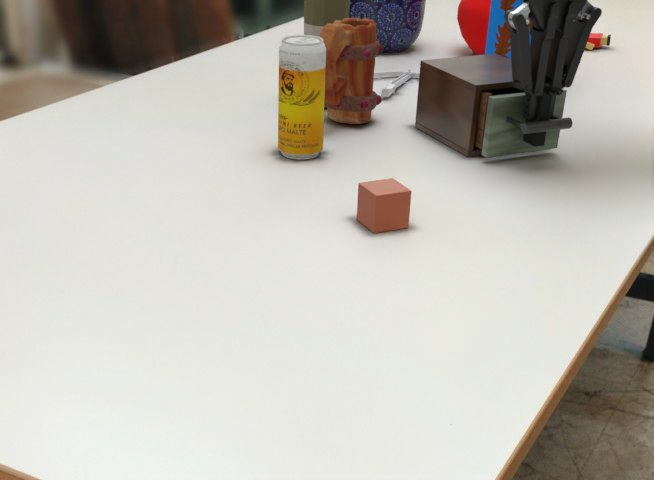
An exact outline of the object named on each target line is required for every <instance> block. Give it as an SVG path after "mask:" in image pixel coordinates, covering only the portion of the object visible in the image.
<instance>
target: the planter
mask: <svg viewBox="0 0 654 480" xmlns="http://www.w3.org/2000/svg"><path fill="white" fill-rule="evenodd" d="M426 4H427V0H350V9H349V18H359V19H360V20H362V19H364V18H366V19H370V20H373V21H375V24H376V41H378V42H379V44H381V45H382V46H383V47H384V50H383V51H382V54H384V53H385V54H387V53H388V54H389V53H398V52H401V51H402V52H403V51H405V50H407V49H408V48H410V47H411V46H412V45H413V44H414V43H415V42H416V40H417V39H418V38H419V36H420V34H421V31H422V28H423V24H424V18H425V13H426V12H425V11H426Z"/></svg>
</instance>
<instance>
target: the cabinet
mask: <svg viewBox="0 0 654 480" xmlns="http://www.w3.org/2000/svg"><path fill="white" fill-rule="evenodd" d="M419 62H420V63H419V78H418V85H417V97H416V98H417V99H416V109H415V122H414V128H416V129H418V130H419V131H421V132H423V133H425V134H426V135H428V136H430V137H432V138H433V139H436V140H437V141H439V142H440V143H442V144H444V145H446V146H448V147H450V148H451V149H452V150H454V151H456V152H458V153H460V154H462V155H464V156H465V157H467V158H469V157H470V158H471V157H478V156H482V155H481V154H482V149H480V148H478V147H476V146H474V139H475V130H476V122H477V114H478V105H479V97H480V91H483V90H493V89H502V88H511V87H514V86H513V78H512V63H511V59H508V58H506V57H503V56H501V55H498V54H496V53H495V54H485V55H476V54H474V55H464V56H455V57H443V58H433V59H432V58H431V59H421V60H420V61H419Z"/></svg>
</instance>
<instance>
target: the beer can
mask: <svg viewBox="0 0 654 480" xmlns="http://www.w3.org/2000/svg"><path fill="white" fill-rule="evenodd" d="M325 70H326V47H325V44H324V42H323V38H321V37H318V36H312V35H304V34H293V35H287V36H284V37H282V38H281V42H280V45H279V46H278V96H277V97H278V98H277V99H278V100H277V101H278V102H277V104H278V105H277V106H278V112H277V114H278V115H277V116H278V117H277V118H278V119H277V149H278V150H279V152H281V155H282V156H283V157H285V158H287V159H289V160H290V159H291V160H298V161H299V160H300V161H302V160H312V159H314V158H317V157H318V156H319V154H320V153H321V152H322V151H323V149H324V128H325V127H324V125H325V123H324V122H325V108H324V99H325Z"/></svg>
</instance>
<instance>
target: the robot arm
mask: <svg viewBox="0 0 654 480" xmlns="http://www.w3.org/2000/svg"><path fill="white" fill-rule="evenodd" d="M602 12H603V11H602V8H600V7H597V6H594V5H593V4H591V3H590V1H588V0H523V4H522V5H521V6H519V7H518V8H517V9H516V10H514V11H510V10H508V11H507V12H506V13H505V15H504V18H505V21H506V23H507V26H508V28H509V31H510V47H511V63H512V78H513V86H514V87H516V88H518V89H520V90H523V91H524V92H525V100H524V107H523V117H524V118H526V122H525V123H527V122H535V121H543V120H548V119H549V118H552V115H553V113H554V107H555V101H556V95H561V94H562V93H563V91H564V90H565V89H564V88H567V89H568V88H570V87H571V86H572V85H573V82H574V80H575V77H576V74H577V72H578V69H579V66H580V64H581V60H582V58H583V55H584V52H585V50H586V48H585V47H586V44H587V41H588V38H589V36H590V33H592V30H593V28H594V26H595V25H596V23H597V22H598V20H599V19H600V17H601V16H602ZM528 16H529V18H530V20H531V26H530V35H531V43H530V38H529V29H528V26H527V25H528V24H529V23H530V20H529V19H528ZM562 89H564V90H562ZM545 138H546V132H538V133H530V134H524V135H523V141H524V142H526V143H528V144H530V145H532V146H534V147H536V146H544V144H545Z"/></svg>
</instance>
